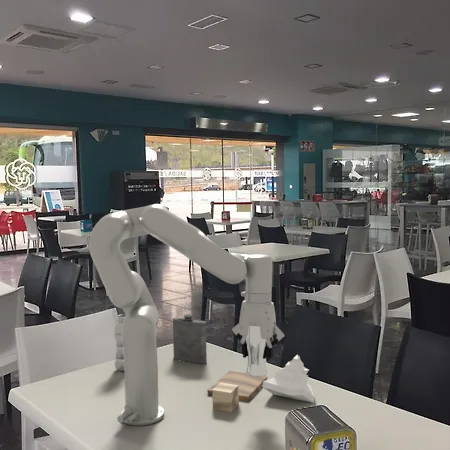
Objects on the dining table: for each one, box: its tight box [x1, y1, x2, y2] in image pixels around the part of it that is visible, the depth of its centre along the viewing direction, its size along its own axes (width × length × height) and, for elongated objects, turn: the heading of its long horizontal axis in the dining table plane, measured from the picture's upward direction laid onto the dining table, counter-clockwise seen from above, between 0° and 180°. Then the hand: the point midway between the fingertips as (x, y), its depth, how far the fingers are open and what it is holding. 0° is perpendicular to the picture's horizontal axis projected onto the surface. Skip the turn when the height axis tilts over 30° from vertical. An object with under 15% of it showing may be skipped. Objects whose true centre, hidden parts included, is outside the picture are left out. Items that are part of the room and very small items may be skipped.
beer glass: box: [245, 325, 269, 377], centre depth 150 cm, size 7×7×15 cm
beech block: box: [211, 383, 240, 413], centre depth 156 cm, size 6×6×6 cm
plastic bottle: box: [113, 314, 126, 372], centre depth 188 cm, size 6×7×20 cm
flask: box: [172, 313, 208, 365], centre depth 196 cm, size 4×14×18 cm, turn 62°
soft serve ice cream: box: [261, 354, 315, 404], centre depth 163 cm, size 12×15×14 cm
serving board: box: [207, 370, 268, 402], centre depth 171 cm, size 18×14×2 cm
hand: (257, 357), depth 150 cm, fingers closed on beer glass, 6 cm apart
